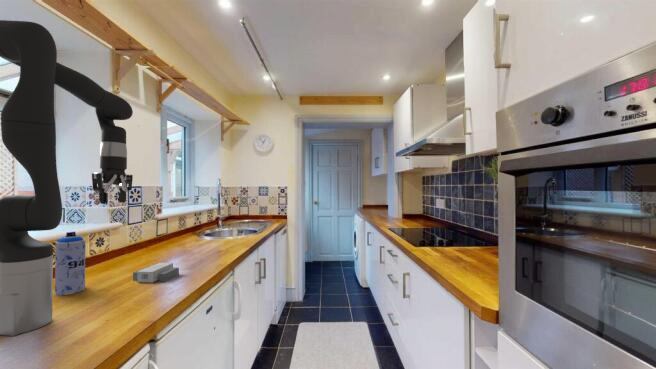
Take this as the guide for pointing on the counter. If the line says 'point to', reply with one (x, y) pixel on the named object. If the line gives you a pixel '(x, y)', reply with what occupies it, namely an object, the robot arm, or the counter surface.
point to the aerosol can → (69, 264)
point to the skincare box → (153, 272)
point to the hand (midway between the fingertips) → (113, 202)
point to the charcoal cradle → (162, 274)
